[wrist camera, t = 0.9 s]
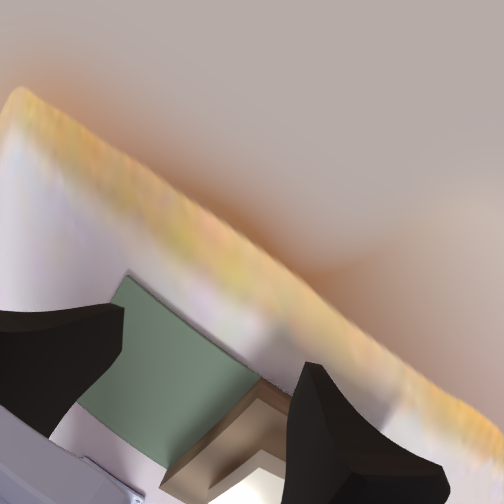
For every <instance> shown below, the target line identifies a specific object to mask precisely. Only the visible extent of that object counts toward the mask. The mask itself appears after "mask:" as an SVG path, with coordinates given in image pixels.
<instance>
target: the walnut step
mask: <svg viewBox="0 0 504 504" xmlns="http://www.w3.org/2000/svg"><path fill="white" fill-rule="evenodd" d="M291 399H292V397H291V396H290V395H288V394H286V393H285V392H283V391H282V390H280V389H279V388H277V387H276V386H274V385H273V384H271V383H270V382H268V381H267V380H265V379H264V378H262V377H260V379H259V380H258V381H257V382H256V383H255V385H254V386H253V387H252V388H251V389H250V390H249V391H248V392H247V393H246V394H245V395H244V396H243V397H242V398H241V399H240V400H239V401H238V402H237V403H236V404H235V405H234V406H233V407H232V408H231V409H230V410H229V411H228V413H227V414H226V415H225V416H224V417H223V418H222V419H221V420H220V421H219V422H217V423H216V424H215V425H214V426H213V427H212V428H211V429H210V430H209V431H208V432H207V433H206V434H205V435H204V436H203V437H202V438H201V439H200V440H199V441H198V442H197V443H196V444H195V445H194V446H193V447H191V448H190V449H189V450H188V451H187V452H186V453H185V454H184V455H183V456H182V457H181V458H180V459H178V460H177V461H176V462H175V463H174V464H173V465H172V466H171V467H170V468H168V469H167V471H166V473H165V475H164V478H163V480H162V482H161V484H160V486H159V489H161V490H163V491H164V492H166V493H168V494H170V495H171V496H173V497H175V498H177V499H178V500H180V501H182V502H184V503H186V504H204V503H205V500H206V496H207V493H208V490H209V489H211V488H212V487H213V486H215V485H216V484H217V483H219V482H220V481H222V480H223V479H224V478H226V477H227V476H228V475H230V474H231V473H232V472H233V471H235V470H236V469H237V468H239V467H240V466H241V465H242V464H244V463H245V462H246V461H247V460H249V459H250V458H251V457H252V456H253V455H255V454H256V453H257V452H258V451H259V450H261V449H262V450H264V451H266V452H267V453H269V454H271V455H273V456H275V457H277V458H279V459H281V460H282V461H284V462H286V427H287V418H288V412H289V406H290V402H291Z"/></svg>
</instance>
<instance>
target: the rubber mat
mask: <svg viewBox="0 0 504 504" xmlns="http://www.w3.org/2000/svg"><path fill="white" fill-rule="evenodd" d="M110 303H113V304H116V305H118V306H121V307H124V308H125V312H124V325H123V342H122V352H121V353H120V355H119V356H118V357H117V359H116V360H115V362H114V363H113V364H112V366H111V367H110V368H109V369H108V370H107V371H106V372H105V373H104V374H103V375H102V376H101V377H100V378H99V379H98V380H97V381H96V382H95V383H94V384H93V385H92V386H91V387H90V388H89V389H88V390H87V391H86V392H85V393H84V394H83V395H82V396H81V397H79V398H78V400H77V402H78V403H79V404H80V405H81V406H82V407H83V408H85V409H86V410H87V411H88V412H89V413H90V414H92V415H93V416H94V417H95V418H96V419H98V420H99V421H100V422H101V423H102V424H104V425H105V426H106V427H108V428H109V429H110V430H111V431H113V432H114V433H115V434H117V435H118V436H119V437H121V438H122V439H123V440H125V441H126V442H127V443H129V444H130V445H131V446H133V447H134V448H136V449H137V450H138V451H140V452H141V453H143V454H144V455H146V456H147V457H149V458H150V459H152V460H153V461H155V462H156V463H158V464H159V465H161V466H163V467H164V468H166V469H168V468H170V467H171V466H172V465H173V464H174V463H175V462H176V461H177V460H178V459H180V458H181V457H182V456H183V455H184V454H185V453H186V452H187V451H188V450H189V449H190V448H191V447H193V446H194V445H195V444H196V443H197V442H198V441H199V440H200V439H201V438H202V437H203V436H204V435H205V434H206V433H207V432H208V431H209V430H210V429H211V428H212V427H213V426H214V425H215V424H216V423H217V422H219V421H220V420H221V419H222V418H223V417H224V416H225V415H226V414H227V413H228V411H229V410H230V409H231V408H232V407H233V406H234V405H235V404H236V403H237V402H238V401H239V400H240V399H241V398H242V397H243V396H244V395H245V394H246V393H247V392H248V391H249V390H250V389H251V388H252V387H253V386H254V385H255V383H256V382H257V381H258V380H259V379H260V377H261V376H259V375H258V374H256V373H255V372H253V371H252V370H250V369H249V368H247V367H246V366H245V365H243V364H242V363H240V362H239V361H237V360H236V359H235V358H233V357H232V356H230V355H229V354H228V353H226V352H225V351H223V350H222V349H221V348H219V347H218V346H217V345H215V344H214V343H213V342H211V341H210V340H208V339H207V338H206V337H204V336H203V335H202V334H200V333H199V332H198V331H196V330H195V329H194V328H193V327H191V326H190V325H189V324H187V323H186V322H185V321H183V320H182V319H181V318H180V317H178V316H177V315H176V314H175V313H173V312H172V311H171V310H170V309H168V308H167V307H166V306H165V305H163V304H162V303H161V302H160V301H158V300H157V299H156V298H155V297H153V296H152V295H151V294H150V293H149V292H147V291H146V290H145V289H144V288H143V287H141V286H140V285H139V284H138V283H137V282H136V281H134V280H133V279H132V278H131V277H130V276H129V275H127V276H126V277H125V278H124V280H123V282H122V283H121V285H120V287H119V288H118V290H117V292H116V294H115V295H114V297H113V299H112V300H111V302H110Z"/></svg>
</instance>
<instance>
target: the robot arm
mask: <svg viewBox="0 0 504 504" xmlns="http://www.w3.org/2000/svg"><path fill="white" fill-rule="evenodd" d="M124 312H125V308H124V307H121V306H118V305H116V304H113V303H106V304H97V305H91V306H85V307H78V308H72V309H64V310H56V311H47V312H14V311H2V310H0V504H142V503H143V502H144V501H145V498H144V497H143V496H141V495H140V494H138V493H136V492H135V491H133V490H132V489H130V488H129V487H127V486H126V485H124V484H123V483H121V482H120V481H118V480H117V479H115V478H114V477H112V476H111V475H110V474H108V473H107V472H105V471H104V470H103V469H101V468H100V467H99V466H97V465H96V464H95V463H93V462H92V461H91V460H89V459H88V458H87V457H83V458H82V459H81V458H79V457H77V456H75V455H74V454H72V453H70V452H68V451H67V450H65V449H63V448H62V447H60V446H58V445H57V444H55V443H54V442H52V441H50V440H49V437H50V435H51V434H52V432H53V431H54V430H55V428H56V427H57V425H58V424H59V422H60V421H61V419H62V418H63V417H64V415H65V414H66V413H67V412H68V410H69V409H70V408H71V406H72V405H73V404H74V403H75V402H76V401H77V400H78V398H79V397H81V396H82V395H83V394H84V393H85V392H86V391H87V390H88V389H89V388H90V387H91V386H92V385H93V384H94V383H95V382H96V381H97V380H98V379H99V378H100V377H101V376H102V375H103V374H104V373H105V372H106V371H107V370H108V369H109V368H110V367H111V366H112V364H113V363H114V362H115V360H116V359H117V357H118V356H119V355H120V353H121V352H122V342H123V325H124ZM449 495H450V485H449V482H448V480H447V477H446V475H445V472H444V470H443V468H442V466H440V465H438V464H435V463H433V462H431V461H428V460H426V459H424V458H421V457H419V456H417V455H415V454H413V453H411V452H409V451H408V450H406V449H404V448H402V447H401V446H399V445H397V444H396V443H394V442H393V441H391V440H390V439H388V438H387V437H386V436H384V435H383V434H382V433H380V432H379V431H378V430H376V429H375V428H374V427H373V426H372V425H371V424H370V423H369V422H367V421H366V420H365V419H364V418H363V417H362V416H361V415H360V414H359V413H358V412H357V411H356V410H355V408H354V407H353V406H352V405H351V404H350V403H349V402H348V400H347V399H346V398H345V397H344V395H343V394H342V393H341V392H340V390H339V389H338V388H337V386H336V385H335V383H334V382H333V380H332V379H331V378H330V376H329V375H328V373H327V372H326V370H325V369H324V368H323V366H322V365H319V364H315V363H310V362H305V365H304V367H303V370H302V373H301V375H300V378H299V381H298V384H297V386H296V389H295V391H294V394H293V397H292V399H291V402H290V406H289V412H288V418H287V427H286V472H285V482H284V488H283V494H282V500H281V504H445V502H446V501H447V499H448V497H449Z"/></svg>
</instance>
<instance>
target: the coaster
mask: <svg viewBox="0 0 504 504" xmlns="http://www.w3.org/2000/svg"><path fill="white" fill-rule="evenodd" d="M285 472H286V462H284V461H282V460H281V459H279V458H277V457H275V456H273V455H271V454H269V453H267V452H266V451H264V450H262V449H261V450H259V451H258V452H257V453H256V454H255V455H253V456H252V457H251V458H250V459H249V460H247V461H246V462H245V463H244V464H242V465H241V466H240V467H239V468H237V469H236V470H235V471H233V472H232V473H231V474H230V475H228V476H227V477H226V478H224V479H223V480H222V481H220V482H219V483H217V484H216V485H215V486H213V487H212V488H211V489H209V490H208V493H207V496H206V500H205V503H204V504H281V500H282V494H283V488H284V482H285Z"/></svg>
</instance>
